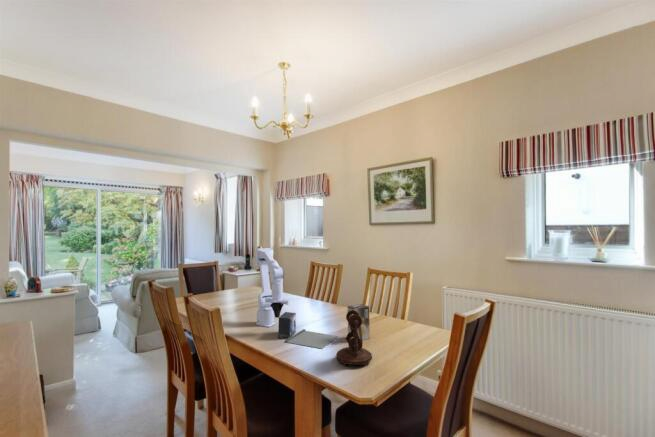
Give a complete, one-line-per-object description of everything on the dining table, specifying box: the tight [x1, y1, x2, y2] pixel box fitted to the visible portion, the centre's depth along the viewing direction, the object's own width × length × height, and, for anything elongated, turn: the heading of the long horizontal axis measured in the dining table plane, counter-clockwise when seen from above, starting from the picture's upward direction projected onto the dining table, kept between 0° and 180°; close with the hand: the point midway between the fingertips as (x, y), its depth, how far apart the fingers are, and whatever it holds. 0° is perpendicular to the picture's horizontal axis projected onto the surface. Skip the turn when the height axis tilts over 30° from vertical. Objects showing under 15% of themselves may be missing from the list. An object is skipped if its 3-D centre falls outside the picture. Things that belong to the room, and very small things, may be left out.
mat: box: [284, 328, 338, 350], centre depth 155 cm, size 20×18×1 cm
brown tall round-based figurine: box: [335, 310, 373, 367], centre depth 130 cm, size 15×15×20 cm
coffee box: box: [347, 303, 371, 341], centre depth 156 cm, size 9×6×16 cm
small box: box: [277, 311, 297, 340], centre depth 161 cm, size 11×6×10 cm, turn 168°
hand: (277, 317), depth 164 cm, fingers closed
